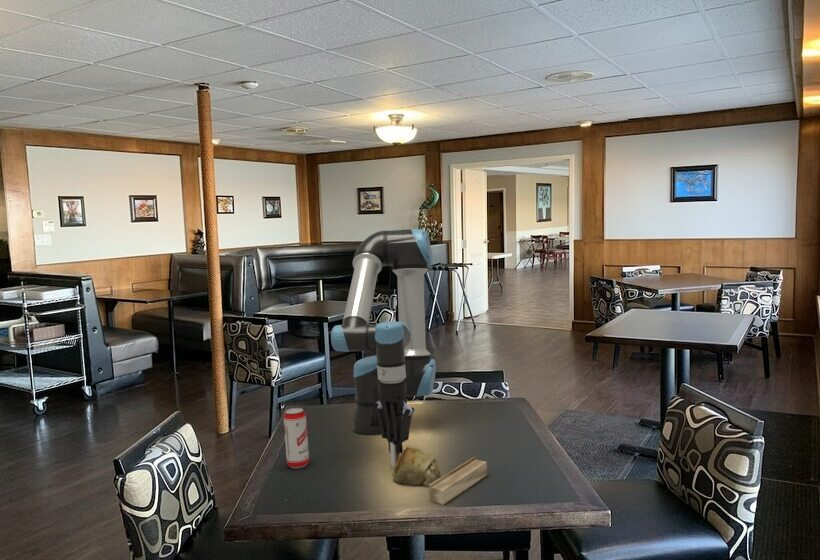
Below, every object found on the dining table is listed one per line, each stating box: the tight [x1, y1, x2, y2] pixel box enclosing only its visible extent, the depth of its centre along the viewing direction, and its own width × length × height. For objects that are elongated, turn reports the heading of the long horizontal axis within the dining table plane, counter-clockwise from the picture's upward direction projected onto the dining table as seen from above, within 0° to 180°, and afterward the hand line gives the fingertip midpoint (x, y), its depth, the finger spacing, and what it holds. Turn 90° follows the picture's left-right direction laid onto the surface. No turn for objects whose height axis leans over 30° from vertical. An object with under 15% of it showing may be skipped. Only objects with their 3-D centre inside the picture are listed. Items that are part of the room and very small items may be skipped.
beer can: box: [283, 407, 310, 470], centre depth 175 cm, size 6×6×16 cm
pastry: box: [391, 446, 441, 488], centre depth 163 cm, size 14×12×8 cm
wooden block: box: [428, 456, 488, 506], centre depth 156 cm, size 4×20×4 cm, turn 142°
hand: (396, 464), depth 168 cm, fingers closed
